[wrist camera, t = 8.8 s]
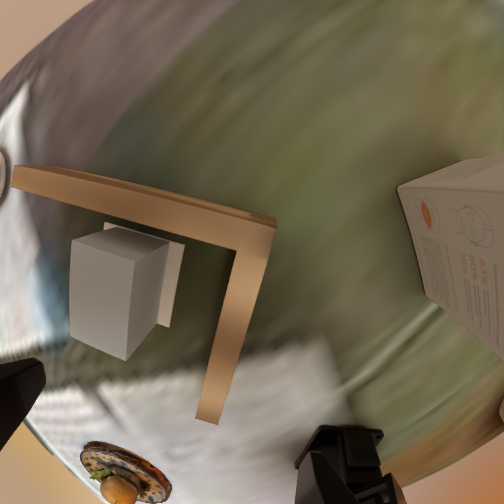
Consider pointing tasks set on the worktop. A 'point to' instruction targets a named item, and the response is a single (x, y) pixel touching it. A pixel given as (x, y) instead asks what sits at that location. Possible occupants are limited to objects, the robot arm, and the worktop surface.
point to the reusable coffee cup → (502, 410)
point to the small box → (462, 243)
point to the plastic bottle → (2, 173)
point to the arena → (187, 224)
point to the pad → (165, 277)
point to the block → (115, 289)
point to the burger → (124, 475)
